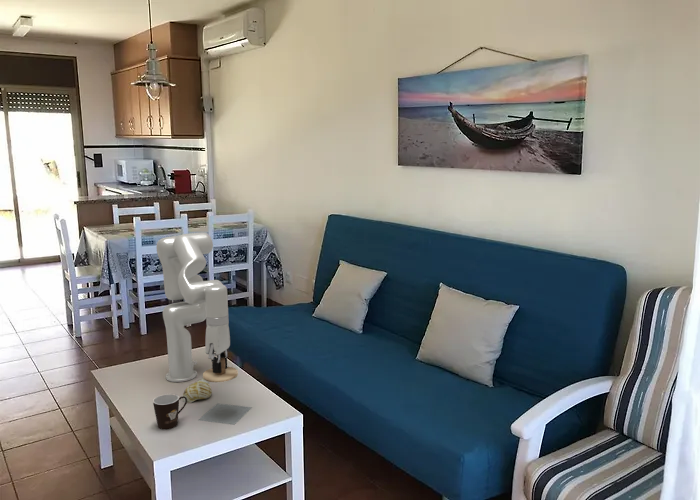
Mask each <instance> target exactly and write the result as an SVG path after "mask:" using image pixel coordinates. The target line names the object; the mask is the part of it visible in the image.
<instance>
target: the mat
mask: <svg viewBox="0 0 700 500" xmlns="http://www.w3.org/2000/svg"><path fill="white" fill-rule="evenodd" d="M252 408H253V407H252V406H245V405H237V404H227V403H218V402H217V403H216V404H215V405H214V406H212V408H209V410H208V411H207V412H206V413H204V414H203V415H202V416H201V417H200V418H199V419H198V421H204V422H211V423H218V424H224V425H225V424H226V425H234V426H235V425H236V424H237V423H238V422H239V421H240V420H241V419H242V418H243V417H244V416H245V415H247V413H248V412H249V411H251V410H252Z"/></svg>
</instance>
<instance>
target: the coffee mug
mask: <svg viewBox="0 0 700 500" xmlns="http://www.w3.org/2000/svg"><path fill="white" fill-rule="evenodd" d="M182 398H185V402H184V403H183V406H182V407H181V408H180V407H179V406H180V405H179V404H180V401H181V400H182ZM152 404H153V408H154V414H155V418H156V422H157V423H156V424H157V427H158V429H159V430H164V431H165V430H172V429H174V428H176V427H177V426H178V424H179V415H180V413H181V412H182V411H183V410H184V409H185V408H186V406H187V398H186V397H184V396H183V395H182V396H180V395H178V394H173V393H166V394H165V393H164V394H161V395H158V396H156V397H154V398H153V399H152Z"/></svg>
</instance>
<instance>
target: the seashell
mask: <svg viewBox="0 0 700 500" xmlns="http://www.w3.org/2000/svg"><path fill="white" fill-rule="evenodd" d="M209 383H210V382H209V381H206V380H204V379H203V378H201V379H198V380H197V381H195V382H193V383H191V384H189V385H188V386H187V387H186V388H185V389H184V391H183V393H182V396H184V397H186V398H187V403H188V404H191V403H193V402H195V401H197V400H206V399H209V398H210V397H211V395H212V393H213V391H212V390H213V389H212V387H211V385H210V384H209ZM181 400H182V402H184V403H185V398H182V399H181Z"/></svg>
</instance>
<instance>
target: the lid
mask: <svg viewBox="0 0 700 500" xmlns="http://www.w3.org/2000/svg"><path fill="white" fill-rule="evenodd" d="M220 362H221V369H222V373H213V369H212V368H208V369H207V370H205V371H204V372H203V373H202V379H204V380H206V381H208V383H224V382H229V381H231V380H233V379H235V378H237V377H238V375H239V371H238V369H237V368H235V367H233V366H227V369H225V358H220Z"/></svg>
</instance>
